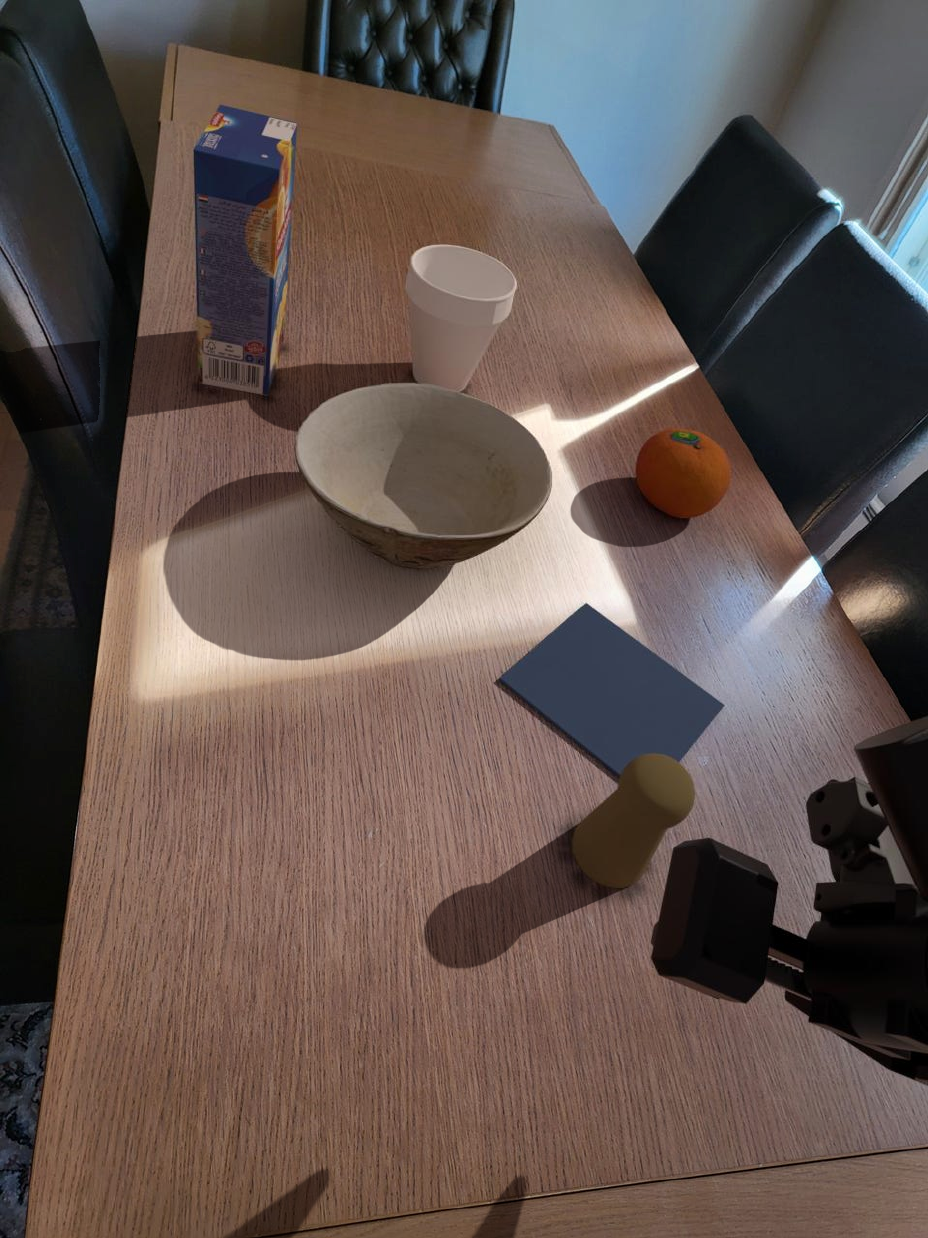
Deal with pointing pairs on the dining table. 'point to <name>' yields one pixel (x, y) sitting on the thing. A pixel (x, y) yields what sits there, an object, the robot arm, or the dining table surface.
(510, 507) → the bowl
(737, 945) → the robot arm
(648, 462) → the fruit
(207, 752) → the dining table surface
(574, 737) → the book
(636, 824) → the cork
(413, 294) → the cup
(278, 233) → the blue cardboard box
